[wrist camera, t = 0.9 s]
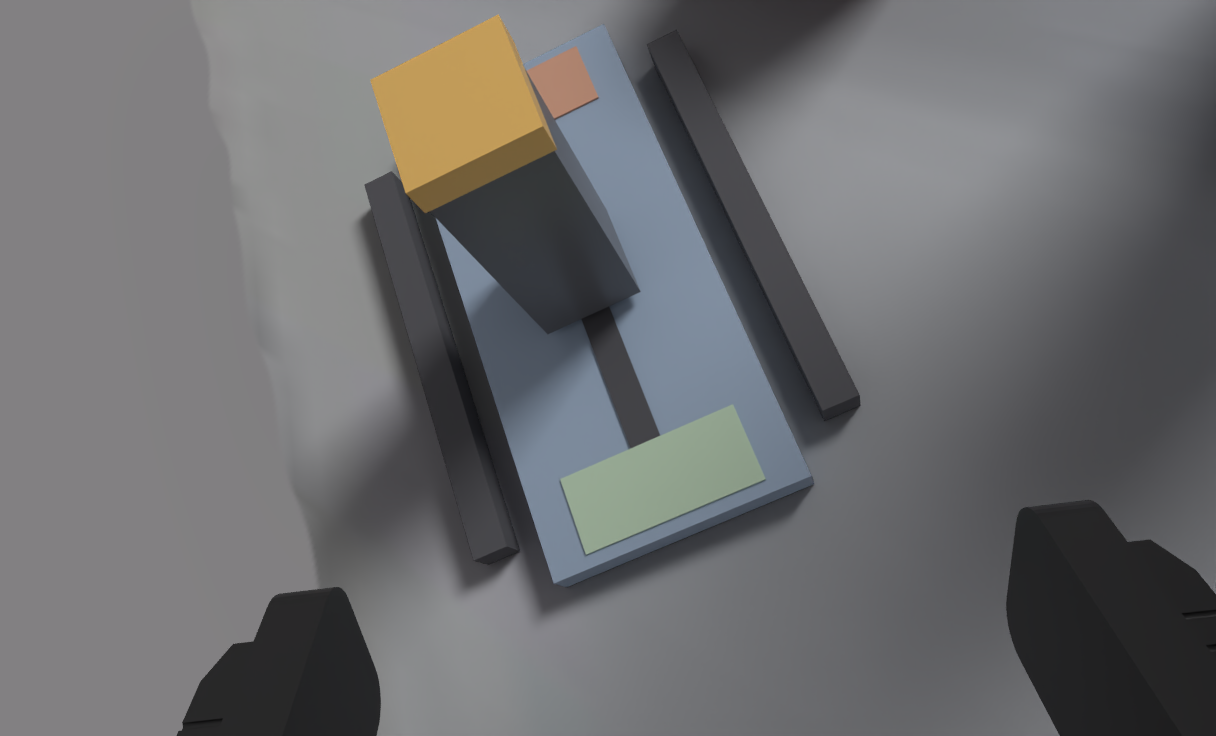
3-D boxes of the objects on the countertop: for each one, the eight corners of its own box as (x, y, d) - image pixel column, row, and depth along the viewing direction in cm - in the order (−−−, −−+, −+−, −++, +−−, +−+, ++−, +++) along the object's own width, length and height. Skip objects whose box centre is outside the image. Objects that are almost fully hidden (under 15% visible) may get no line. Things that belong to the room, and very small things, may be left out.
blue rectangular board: (814, 483, 33) (811, 475, 32) (566, 587, 34) (552, 583, 33) (612, 45, 42) (603, 22, 40) (420, 141, 43) (404, 122, 42)
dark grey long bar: (520, 551, 35) (506, 546, 34) (488, 564, 36) (473, 560, 34) (406, 186, 42) (391, 171, 41) (379, 199, 43) (364, 184, 41)
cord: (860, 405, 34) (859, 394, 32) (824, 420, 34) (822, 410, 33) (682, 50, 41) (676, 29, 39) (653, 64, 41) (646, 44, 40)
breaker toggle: (644, 292, 35) (543, 125, 25) (546, 337, 36) (405, 193, 25) (608, 206, 37) (498, 14, 26) (514, 250, 37) (370, 79, 27)
